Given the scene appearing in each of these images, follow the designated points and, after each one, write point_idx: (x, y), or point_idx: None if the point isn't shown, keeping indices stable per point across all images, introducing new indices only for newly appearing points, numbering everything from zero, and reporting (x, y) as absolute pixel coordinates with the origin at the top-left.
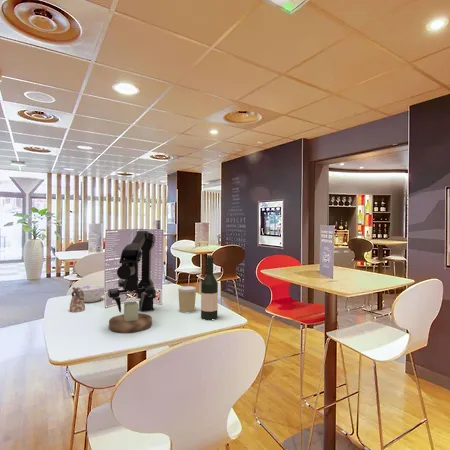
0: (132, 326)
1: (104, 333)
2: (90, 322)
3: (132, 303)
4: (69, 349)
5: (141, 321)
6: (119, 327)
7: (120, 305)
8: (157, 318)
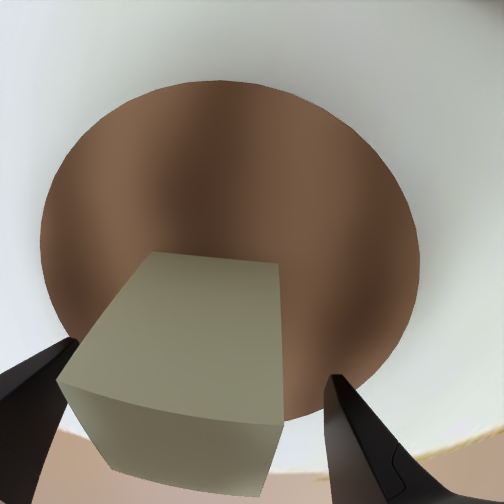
0: None
1: None
2: (3, 58)
3: (189, 473)
4: None
5: None
6: None
7: (51, 438)
8: (477, 208)
